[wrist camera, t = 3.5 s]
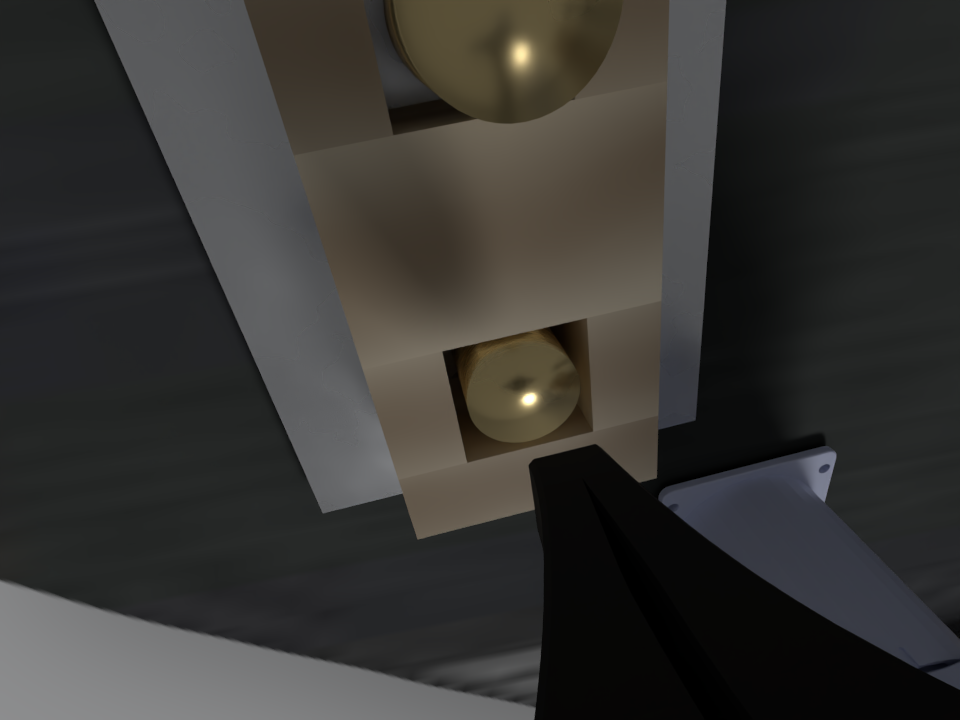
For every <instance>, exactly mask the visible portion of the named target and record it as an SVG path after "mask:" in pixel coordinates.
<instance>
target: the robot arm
mask: <svg viewBox="0 0 960 720" xmlns="http://www.w3.org/2000/svg"><path fill="white" fill-rule="evenodd" d="M835 460H836V453H835V451H834V450H832V449H831V448H830V447H828V446H822V447H818V448H814V449H810V450H806V451H803V452H799V453H795V454H791V455H787V456H783V457H779V458H775V459H772V460H768V461H764V462H760V463H756V464H752V465H748V466H744V467H741V468H737V469H733V470H729V471H725V472H721V473H717V474H713V475H710V476H706V477H702V478H698V479H694V480H690V481H686V482H682V483H679V484H675V485H671V486H668V487H665V488H664V489H663V490H662V491H661V492H660V494H659V497H658V499H657V498H656V497H655V496H654V495H652V494H651V493H650V492H649V491H648V490H647V489H645V488H644V487H643V486H642V485H641V484H640V483H639V482H638V481H636V480H635V479H634V478H633V477H632V476H631V475H630V474H629V473H628V472H627V471H625V470H624V469H623V468H622V467H621V466H620V465H619V464H618V463H617V462H616V461H615V460H614V459H613V458H612V457H611V456H610V455H609V454H607V453H606V452H605V451H604V450H603V449H602V448H601V447H600V446H598V445H597V444H593V445H589V446H585V447H580V448H576V449H572V450H568V451H564V452H560V453H556V454H552V455H548V456H544V457H540V458H536V459H533V460H532V461H531V463H530V464H529V465H528V466H529V473H530V480H531V487H532V493H533V500H534V507H535V514H536V521H537V528H538V532H539V536H540V539H541V543H542V547H543V551H544V612H543V633H542V648H541V661H540V672H539V682H538V692H537V702H536V711H535V719H534V720H960V639H959V638H958V637H957V636H956V635H955V634H954V633H953V632H952V631H951V630H950V629H949V628H948V627H947V626H946V625H945V624H944V623H943V622H942V621H941V620H940V619H939V618H938V617H937V616H936V615H935V614H934V613H933V612H932V611H931V610H930V609H929V608H928V607H927V606H926V605H925V604H924V603H923V602H922V601H921V599H920V598H919V597H918V596H917V595H916V594H915V593H914V592H913V591H912V590H911V589H910V588H909V587H908V586H907V585H906V584H905V583H904V582H903V581H902V580H901V579H900V578H899V577H898V576H897V575H896V574H895V573H894V572H893V571H892V570H891V569H890V568H889V567H888V566H887V565H886V564H885V563H884V562H883V561H882V560H881V559H880V558H879V557H878V556H877V555H876V554H875V553H874V552H873V551H872V550H871V549H870V548H869V547H868V546H867V545H866V544H865V543H864V542H863V541H862V540H861V539H860V538H859V537H858V536H857V535H856V534H855V533H854V532H853V531H852V530H851V529H850V528H849V527H848V526H847V525H846V524H845V523H844V522H843V521H842V520H841V519H840V518H839V517H838V516H837V515H836V514H835V513H834V512H833V511H832V510H831V509H830V508H829V507H828V506H827V505H826V504H825V503H824V502H825V498H826V494H827V490H828V487H829V483H830V479H831V475H832V471H833V468H834V464H835Z"/></svg>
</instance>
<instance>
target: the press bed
mask: <svg viewBox="0 0 960 720" xmlns="http://www.w3.org/2000/svg"><path fill="white" fill-rule="evenodd" d="M94 1H95V3H96V5H97V8H98V10H99V12H100V14H101V16H102V19H103V21H104V23H105V25H106V28H107V30H108V32H109V34H110V37H111V39H112V41H113V43H114V46H115V48H116V50H117V52H118V55H119V57H120V59H121V61H122V64H123V66H124V68H125V70H126V73H127V75H128V77H129V79H130V82H131V84H132V86H133V88H134V91H135V93H136V95H137V97H138V100H139V102H140V104H141V106H142V108H143V111H144V113H145V115H146V117H147V120H148V122H149V124H150V126H151V129H152V131H153V133H154V135H155V138H156V140H157V142H158V144H159V147H160V149H161V151H162V153H163V156H164V158H165V160H166V162H167V165H168V167H169V169H170V171H171V174H172V176H173V178H174V180H175V183H176V185H177V187H178V189H179V192H180V194H181V196H182V198H183V201H184V203H185V205H186V207H187V209H188V212H189V214H190V216H191V218H192V221H193V223H194V225H195V227H196V230H197V232H198V234H199V236H200V239H201V241H202V243H203V245H204V248H205V250H206V252H207V254H208V257H209V259H210V261H211V263H212V266H213V268H214V270H215V272H216V275H217V277H218V279H219V281H220V284H221V286H222V288H223V290H224V293H225V295H226V297H227V299H228V302H229V304H230V306H231V308H232V310H233V313H234V315H235V317H236V319H237V322H238V324H239V326H240V328H241V331H242V333H243V335H244V337H245V340H246V342H247V344H248V346H249V349H250V351H251V353H252V355H253V358H254V360H255V362H256V364H257V367H258V369H259V371H260V373H261V376H262V378H263V380H264V382H265V385H266V387H267V389H268V391H269V394H270V396H271V398H272V400H273V403H274V405H275V407H276V409H277V411H278V414H279V416H280V418H281V420H282V423H283V425H284V427H285V429H286V432H287V434H288V436H289V438H290V441H291V443H292V445H293V447H294V450H295V452H296V454H297V456H298V459H299V461H300V463H301V465H302V468H303V470H304V472H305V474H306V477H307V479H308V481H309V483H310V486H311V488H312V490H313V492H314V495H315V497H316V499H317V501H318V504H319V506H320V508H321V510H322V512H323V513H326V512H330V511H334V510H338V509H342V508H346V507H350V506H354V505H358V504H362V503H366V502H370V501H374V500H378V499H382V498H386V497H390V496H394V495H398V494H402V493H403V492H402V489H401V486H400V483H399V480H398V477H397V474H396V471H395V468H394V465H393V462H392V458H391V455H390V452H389V449H388V446H387V443H386V440H385V437H384V434H383V431H382V427H381V424H380V421H379V418H378V415H377V412H376V409H375V406H374V403H373V400H372V397H371V393H370V390H369V387H368V384H367V381H366V378H365V375H364V372H363V369H362V366H361V362H360V359H359V356H358V353H357V350H356V347H355V344H354V341H353V338H352V335H351V332H350V328H349V325H348V322H347V319H346V316H345V313H344V310H343V307H342V304H341V301H340V297H339V294H338V291H337V288H336V285H335V282H334V279H333V276H332V273H331V270H330V267H329V263H328V260H327V257H326V254H325V251H324V248H323V245H322V242H321V239H320V236H319V232H318V229H317V226H316V223H315V220H314V217H313V214H312V211H311V208H310V205H309V202H308V198H307V195H306V192H305V189H304V186H303V183H302V180H301V177H300V174H299V171H298V168H297V164H296V161H295V158H294V155H293V152H292V149H291V146H290V143H289V140H288V137H287V133H286V130H285V127H284V124H283V121H282V118H281V115H280V112H279V109H278V106H277V103H276V99H275V96H274V93H273V90H272V87H271V84H270V81H269V78H268V75H267V72H266V68H265V65H264V62H263V59H262V56H261V53H260V50H259V47H258V44H257V41H256V38H255V34H254V31H253V28H252V25H251V22H250V19H249V16H248V13H247V10H246V7H245V4H244V0H94ZM363 2H364V6H365V11H366V15H367V20H368V24H369V29H370V33H371V37H372V42H373V46H374V51H375V55H376V60H377V64H378V69H379V73H380V77H381V82H382V86H383V91H384V95H385V100H386V104H387V109H392V108H397V107H402V106H407V105H412V104H417V103H423V102H428V101H433V100H438V99H442V98H440V97H439V96H438V95H437V94H435V93H434V92H433V91H432V90H430V89H429V88H428V87H427V86H425V85H424V84H423V83H421V82H420V81H419V80H418V79H417V78H416V77H415V76H413V75H412V73H411V72H410V71H409V70H408V69H407V68H406V67H405V65H404V64H403V62H402V61H401V59H400V58H399V56H398V55H397V53H396V51H395V49H394V47H393V45H392V42H391V39H390V37H389V34H388V30H387V27H386V22H385V16H384V6H383V0H363ZM725 10H726V0H669V35H668V73H667V110H666V148H665V186H664V224H663V262H662V300H661V338H660V376H659V414H658V430H659V429H663V428H667V427H671V426H675V425H679V424H683V423H687V422H691V421H695V420H696V407H697V394H698V380H699V366H700V353H701V339H702V325H703V312H704V298H705V284H706V270H707V257H708V243H709V229H710V216H711V202H712V188H713V175H714V161H715V147H716V133H717V120H718V106H719V92H720V79H721V65H722V51H723V38H724V24H725ZM442 353H443V358H444V362H445V366H446V371H447V375H448V379H452V378H456V377H459V376H458V372H457V369H456V365H455V362H454V358H453V355H452V351H451V349H450V350H446V351H442Z"/></svg>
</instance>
